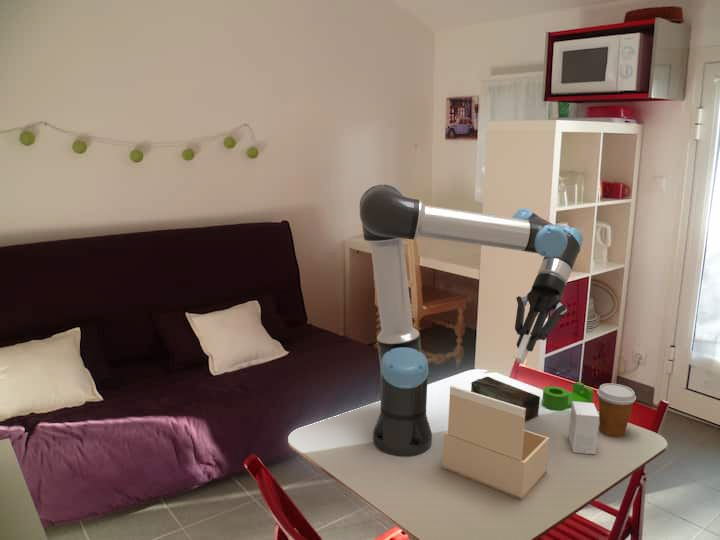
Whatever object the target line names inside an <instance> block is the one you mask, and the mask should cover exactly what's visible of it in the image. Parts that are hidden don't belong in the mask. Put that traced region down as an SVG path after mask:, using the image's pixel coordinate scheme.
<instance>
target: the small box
mask: <svg viewBox="0 0 720 540" xmlns="http://www.w3.org/2000/svg"><path fill="white" fill-rule="evenodd" d="M599 427H600V423H599V411H598V410H597V408H596V405H595V403H594V402H592V403H587V402H577V401H572V406H571V408H570V418H569V430H568V440H569V443H570V447H571V450H572V453H577V454H578V453H579V454H587V455H596V453H597V445H598V444H597V443H598V435H599Z"/></svg>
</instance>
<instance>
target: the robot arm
mask: <svg viewBox="0 0 720 540" xmlns="http://www.w3.org/2000/svg"><path fill="white" fill-rule="evenodd" d="M359 217H360V222H361V227H362V233H363V241H365V242H366V243H367V244H369V246H370V249H371V259H372V266H373V274H374V281H375V282H374V283H375V292H376V298H377V305H378V314H379V321H380V332H379V333H378V334H377V336H376V340H377V341H376V342H377V350H378V358H379V367H380V412H379V416H377V417H378V418H377V421H376V423H375V425H374V428H373V434H372V441H373V444H374V445H375V447H376V446H377V448H378V449H379V450H381V451H382V452H384V453H387V454H390V455H395V456H403V457H405V456H406V457H407V456H415V455H420V454H422V453H424V452H426V451H428V450H429V449H430V448H431V446H432V444H433V443H432V441H433V433H432V429H431V427H430V426H431V425H430V423H429V422H430V421H429V420H428V416H427V403H428V402H427V397H428V376H429V369H430V368H429V365H428V363H429V362H428V359H427V356H426V355H425V354H424V353H422V345H421V336H420V331H419V330H418V329H416V328H415V327H414V325H413V316H412V315H413V314H412V307H411V298H410V288H409V281H408V273H407V262H406V255H405V246H404V245H405V244H404V241H405V240H410V241H411V240H412V241H414V240H416V239H418V238H419V237H422V238H427V239H435V240H442V241H443V240H444V241H450V242H459V243H463V244H472V245H479V246H486V247H493V248H500V249H506V250H514V251H521V252H526V253H532V254H538V255H540V256H541V257H543V259H542V263H541V264H540V266H539V267H540V268H539V269H538V272H537V275H536V277H535V279H534V281H533V285H532V286H531V290H530V291H529V292H528V293H527V295H524V296H520V295H519V296H516V298H515V299H516V302H517V309H516V315H515V316H516V317H515V323H514V330H515V332H516V334H517V335H519V337H518V339H517V342H516V347H517V351H516V353H515V356H514V359H515V361H516V362H517V363H518V364H523V365H524V364H525V361H526V359H527V356H528V353H529V352H530V353H532V352H533V350H534V348H535V346H536V344H537V342H538V341H541V340H542V341H545V340H546V339H547V338H548V336H549V335H550V334H551V332H552V331H553V329H554V328H555V327H556V325H557V324H558V322H559V321H560V320H561V318H563V317H564V316H565V315H567V313H568V309H567V306H566V305H565V304H562V301H561V298H562V297H563V293H564V292H565V289H566V285H567V284H568V281H569V278H570V275H571V273H572V270H573V268H574V265H575V262H576V260H577V258H578V255H579V254H580V252H581V247H582V246H583V245H582V244H583V240H584V238H583V234H582V233H581V231H580V230H579V229H577V228H576V227H572V226H570V225H560V226H559V225H557V224H554V223H552V222H550V221H548V220H546V219H544V218H542V217H541V216H539V215H538V214H536V213H534V211H531V210H529V209H527V208H525V207H522V208H519V209H518V210H517V211H516V212H515V213H514V214H513V216H512V217H508V216H503V215H494V214H488V213H483V212H482V213H480V212H474V211H468V210H461V209H454V208H446V207H441V206H440V207H439V206H436V205H433V206H432V205H428V204H424V203H423V201H422V200H421V199H415V198H411V197H407V196H405V195H402V192H401V191H399V189H398V188H396V187H394V186H393V185H389V184H377V185H373V186H371V187H369V188H367V190H366V191H364V193H363V194H362V196H361V197H360V201H359ZM527 303H529V310H528V313H527V315H526V317H525V314H526V313H525V312H526V311H525V310H526V306H527ZM552 311H553V312H552ZM551 312H552V314H551V315H550V316H549V313H551ZM548 316H549V318H548ZM536 317H537V318H536ZM524 318H525V320H524ZM547 318H548V319H547ZM546 319H547V321H546ZM533 325H534V326H533ZM532 327H533V328H532Z"/></svg>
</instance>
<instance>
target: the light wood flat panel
mask: <svg viewBox="0 0 720 540" xmlns="http://www.w3.org/2000/svg"><path fill="white" fill-rule="evenodd" d="M525 415H526V408H523V407H520V406H516V405H513V404H510V403H507V402H503V401H500V400H497V399H493V398H490V397H487V396H484V395H480V394H477V393H474V392H471V390H466V389H464V388H461V387H457V386H454V385H450V387H449V404H448V420H447V421H448V424H447V425H448V426H447V431H448V434H449V435H451V436H454V437H457V438H460V439H462V440H465V441H468V442H471V443H473V444H476V445H479V446H482V447H484V448H487V449H490V450H493V451H495V452H498V453H501V454H504V455H506V456H509V457H512V458H515V459H517V460H520V461H521V460H522V450H523V438H524V430H525V426H526V425H525V424H526V423H525V422H526V421H525Z"/></svg>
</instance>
